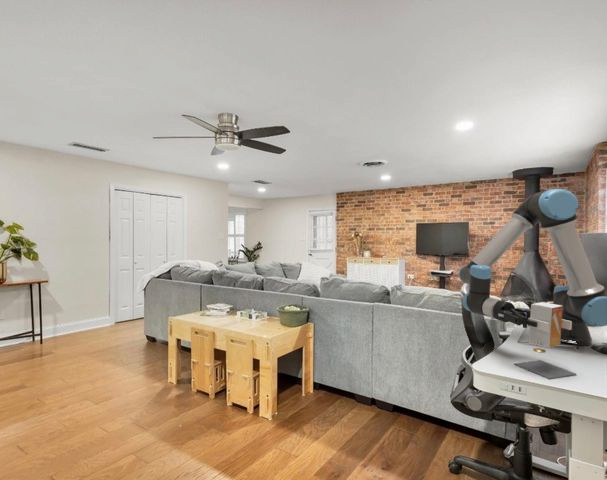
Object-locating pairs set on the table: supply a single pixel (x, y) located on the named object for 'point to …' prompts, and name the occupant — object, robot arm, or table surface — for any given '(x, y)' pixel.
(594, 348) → the table surface
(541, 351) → the brass coin
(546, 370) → the slate mat
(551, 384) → the table surface
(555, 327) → the small box
